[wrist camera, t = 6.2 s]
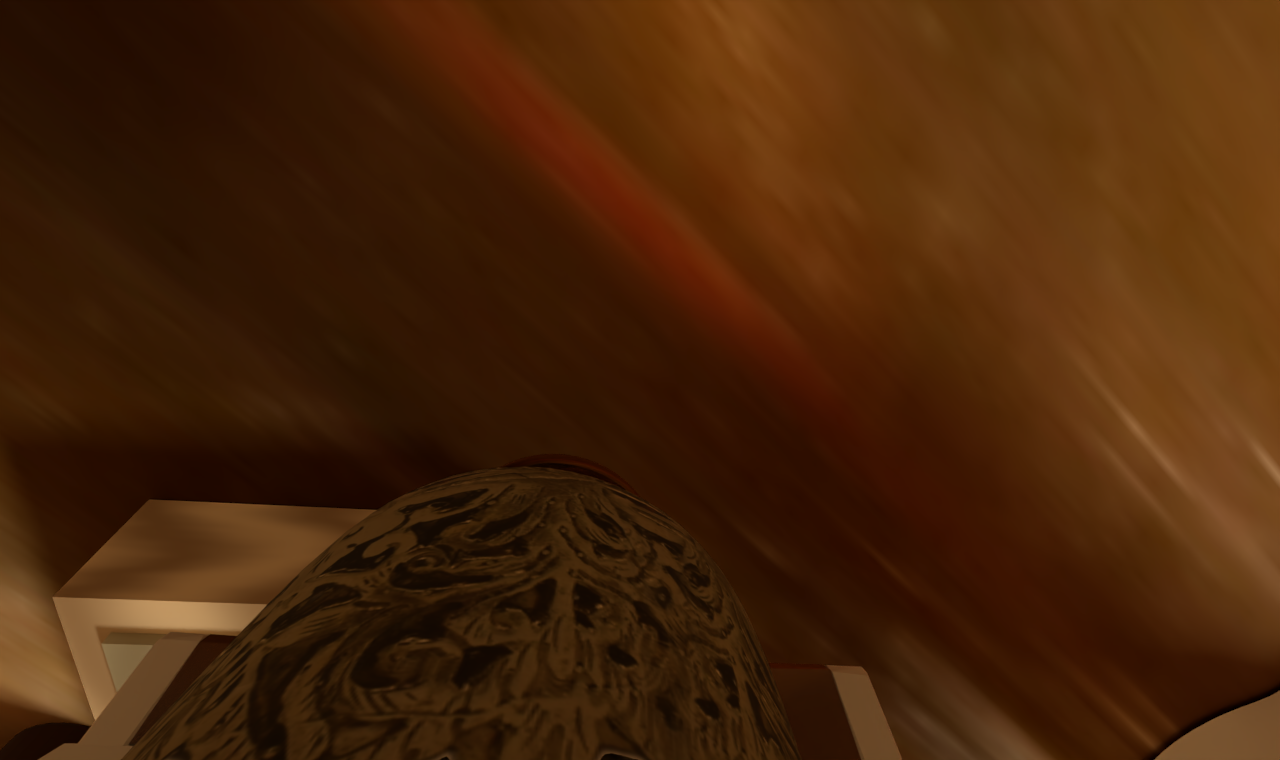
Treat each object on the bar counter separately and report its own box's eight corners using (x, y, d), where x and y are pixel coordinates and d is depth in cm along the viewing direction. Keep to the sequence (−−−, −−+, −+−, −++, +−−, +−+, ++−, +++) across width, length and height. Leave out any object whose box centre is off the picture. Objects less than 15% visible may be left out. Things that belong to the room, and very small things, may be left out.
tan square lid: (550, 517, 29) (538, 624, 24) (538, 769, 36) (527, 896, 31) (148, 499, 28) (41, 608, 23) (215, 764, 35) (144, 896, 29)
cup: (294, 568, 13) (-152, 1184, 6) (464, 245, 11) (25, 659, 3) (628, 724, 15) (592, 1369, 8) (853, 475, 12) (1140, 1111, 5)
